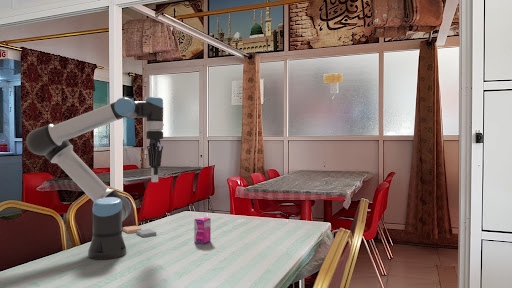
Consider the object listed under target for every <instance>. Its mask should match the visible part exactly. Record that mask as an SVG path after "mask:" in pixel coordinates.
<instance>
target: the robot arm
mask: <svg viewBox="0 0 512 288" xmlns="http://www.w3.org/2000/svg"><path fill="white" fill-rule="evenodd" d="M124 118H127V119H130V118H132V119H133V118H134V119H135V118H137V119H138V118H139V119H140V118H142V119H145V122H146V123H145V130H147V131H146V132H145V134H146V135H145V136H146V139H147V140H149V144H148V145H146V148H147V156H148V166H150V168H151V170H150V174H151V175H150V176H151V179H150V181H151V183H159V168H160V167H161V163H162V156H163V154H162V153H163V149H164V145H161V140H164V125H165V124H164V100H163V98H162V97H159V96H148V97H146V100H145V101H144V100H143V101H139V100H138V101H136V100H135V101H134V100H132V99H131V98H129V97H120V98H118V99H116V101H114V102H112V103H111V102H110V103H109V104H107V105H106V104H105V105H103V106H101V107H98V108H96V109H93V110H90V111H87V112H85V113H82V114H79V115H77V116H75V117H72V118H69V119H68V120H64V121H62V122H59V123H57V124H52V123H50V124H47V125H44V126H41V127H37V128H35V129H33V130H31V131H30V132H29V133H28V134H27V136H26V139H25V140H26V141H25V143H26V147H27V149H28V150H29V151H30V152H31V153H32V154H35V155H37V156H44V157H45V158H46V159H47V160H48V161H49V162H50V164H57V165H58V166H59V167H60V169H62V170H63V171H64V172H65V174H67V175H68V176H69V178H70V179H72V181H73V182H74V183H75V184H77V186H78V187H79V188H80V189H81V190H82V191H83V192H84V193H85V194H86V195H87V197H89V198H90V199H91V200H92V202H93V204H92V208H91V209H92V210H91V211H92V238H91V242H90V244H89V246H88V247H89V248H88V251H87V257H88V259H93V260H111V259H116V258H121V257H122V256H125V255H126V254H127V246H126V243H125V240H124V238H123V221H125V220H126V219H127V218H128V217H129V215H130V213H131V209H132V207H131V203H130V201H129V200H128V198H127V197H125V196H123V195H121V194H119V193H118V192H117V190H116V189H114V188H109V187H108V186H107V185H106V184H105V183H104V182H103V181H102V179H100V177H98V175H97V174H95V172H94V171H93V170H92V169H91V168H90V167H89V166H88V165H87V164H86V163H85V162H84V161H83V160H82V159H81V157H80V156H78V155H77V154H76V153H75V151H74V146H73V144H72V143H71V142H70V141H69V140H71V139H74V138H75V137H78V136H81V135H84V134H85V133H89V132H91V131H94V130H96V129H98V128H101V127H103V126H107V125H109V124H111V123H114V122H116V121H119V120H121V119H124Z"/></svg>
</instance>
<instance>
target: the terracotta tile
mask: <svg viewBox="0 0 512 288" xmlns="http://www.w3.org/2000/svg"><path fill="white" fill-rule="evenodd" d="M138 230H142V228H141V227H139V226H137V225H131V226H129V225H128V226H124V227H123V226H122V232H124V233H126V234H135V233H136V231H138Z"/></svg>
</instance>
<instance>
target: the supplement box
mask: <svg viewBox="0 0 512 288" xmlns="http://www.w3.org/2000/svg"><path fill="white" fill-rule="evenodd" d="M193 221H194V225H193V226H194V228H193V229H194V231H193V233H194V235H193V236H194V237H193V238H194V242H193V243H195V244H200V245H205V244H209V243H210V242H211V237H212V236H211V233H212V232H211V222H212V219H211V217H205V216H200V217H197V218H194V219H193Z"/></svg>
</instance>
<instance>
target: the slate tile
mask: <svg viewBox="0 0 512 288" xmlns="http://www.w3.org/2000/svg"><path fill="white" fill-rule="evenodd" d="M136 235H138V236H139V237H142V238H148V237H154V236H157V231H155V230H153V229H151V228H147V229H141V230H138V231H136Z"/></svg>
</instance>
